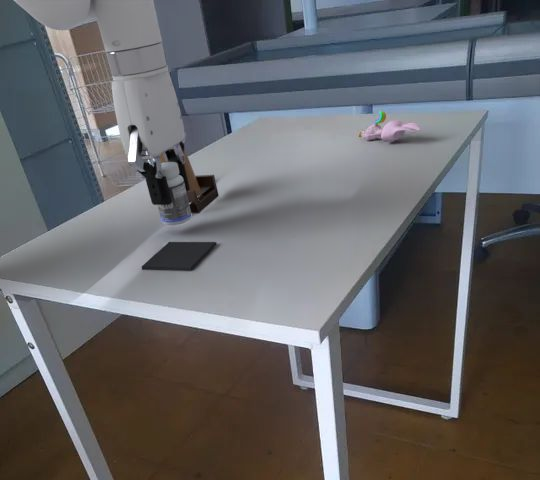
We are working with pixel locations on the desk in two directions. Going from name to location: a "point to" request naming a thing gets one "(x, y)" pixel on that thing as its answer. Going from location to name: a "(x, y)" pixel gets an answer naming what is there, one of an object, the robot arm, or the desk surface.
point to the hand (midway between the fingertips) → (171, 196)
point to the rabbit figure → (387, 129)
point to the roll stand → (207, 195)
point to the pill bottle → (175, 197)
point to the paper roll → (188, 174)
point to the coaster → (179, 256)
